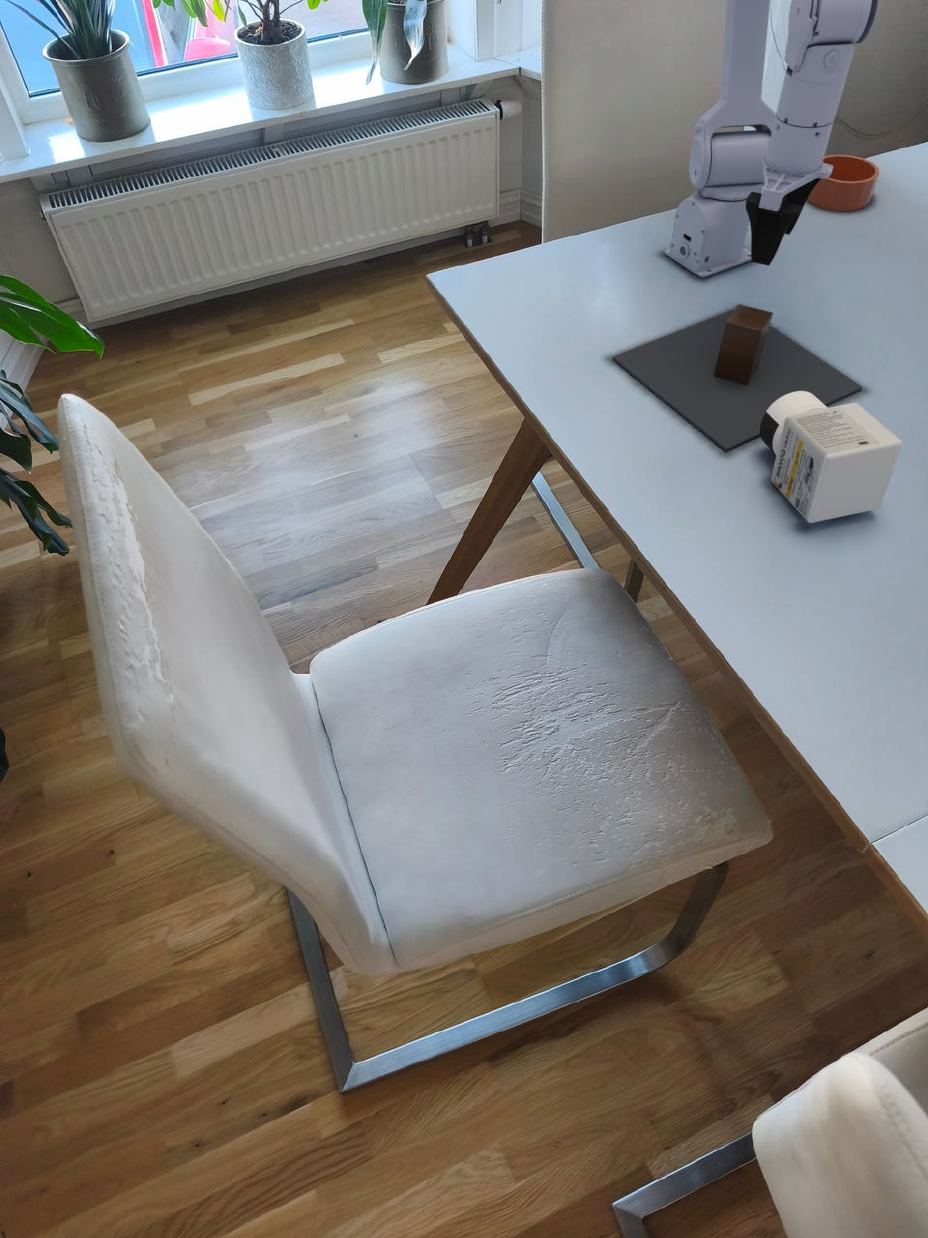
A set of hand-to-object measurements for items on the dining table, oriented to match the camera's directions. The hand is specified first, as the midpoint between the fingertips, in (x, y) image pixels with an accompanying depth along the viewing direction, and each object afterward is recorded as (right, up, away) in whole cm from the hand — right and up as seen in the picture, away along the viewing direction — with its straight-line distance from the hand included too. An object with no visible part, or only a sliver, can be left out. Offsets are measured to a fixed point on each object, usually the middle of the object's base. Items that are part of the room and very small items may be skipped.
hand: (771, 246), depth 96 cm
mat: (-4, -14, +2) cm, 14 cm away
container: (+2, -30, -17) cm, 34 cm away
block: (-3, -14, +2) cm, 14 cm away
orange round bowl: (+20, +20, +29) cm, 40 cm away
